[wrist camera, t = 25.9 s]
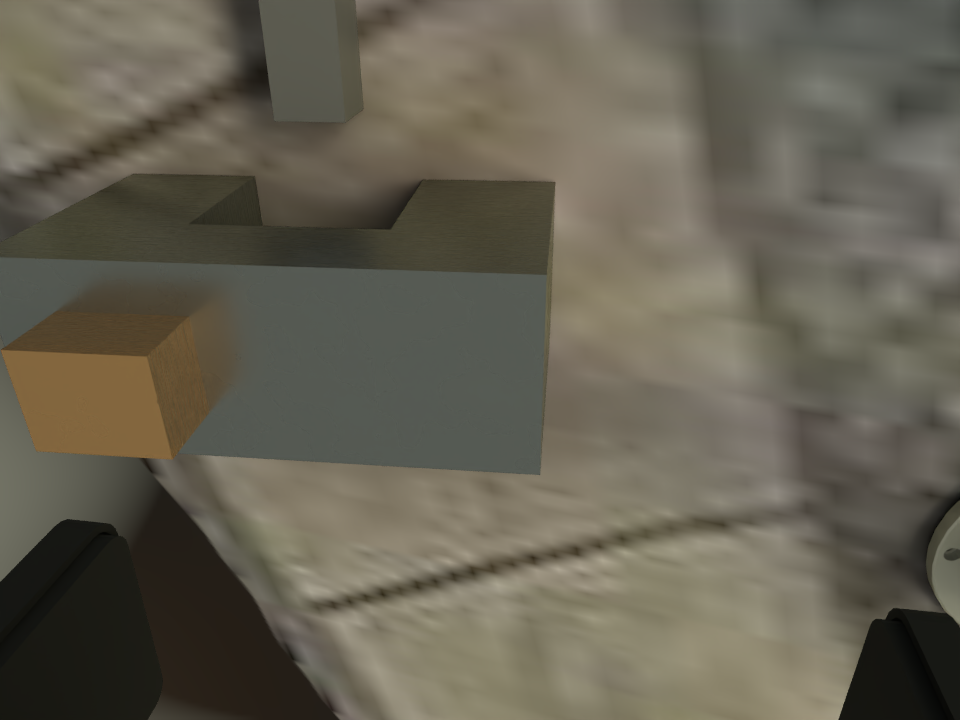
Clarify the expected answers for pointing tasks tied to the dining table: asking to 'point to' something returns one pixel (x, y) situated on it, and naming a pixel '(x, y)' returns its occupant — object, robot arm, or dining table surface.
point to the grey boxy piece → (284, 327)
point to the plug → (312, 59)
